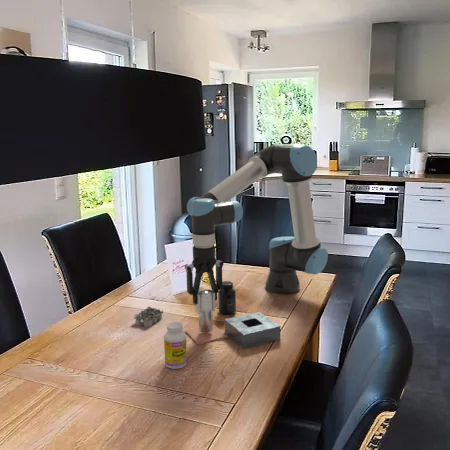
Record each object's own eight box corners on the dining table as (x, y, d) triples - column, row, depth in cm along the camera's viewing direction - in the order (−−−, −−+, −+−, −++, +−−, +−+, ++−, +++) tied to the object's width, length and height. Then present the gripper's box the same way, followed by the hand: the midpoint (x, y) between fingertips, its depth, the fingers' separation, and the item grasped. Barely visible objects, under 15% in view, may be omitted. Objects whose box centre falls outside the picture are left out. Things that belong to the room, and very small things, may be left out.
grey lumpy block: (148, 328, 169) (148, 318, 169) (132, 324, 173) (131, 314, 172) (165, 317, 179) (165, 307, 178) (149, 314, 182) (148, 304, 181)
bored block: (259, 324, 170) (259, 311, 169) (280, 340, 158) (280, 326, 157) (224, 332, 164) (224, 319, 163) (243, 349, 152) (243, 334, 151)
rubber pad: (213, 325, 170) (213, 324, 170) (227, 337, 160) (227, 336, 160) (185, 332, 165) (185, 330, 165) (197, 344, 156) (197, 342, 156)
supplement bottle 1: (170, 372, 139) (169, 331, 136) (161, 362, 144) (159, 323, 141) (190, 365, 142) (189, 326, 139) (181, 357, 148) (179, 318, 145)
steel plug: (209, 325, 166) (208, 287, 163) (215, 330, 161) (214, 291, 158) (196, 328, 164) (195, 289, 161) (202, 333, 159) (201, 293, 156)
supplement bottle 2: (236, 309, 185) (236, 280, 183) (235, 316, 179) (235, 286, 176) (219, 308, 186) (218, 280, 184) (217, 315, 179) (216, 285, 177)
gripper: (222, 239, 163) (223, 303, 168) (174, 246, 156) (177, 312, 161) (232, 244, 157) (233, 310, 162) (183, 251, 149) (185, 319, 154)
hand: (205, 310), depth 161 cm, fingers closed on steel plug, 5 cm apart
